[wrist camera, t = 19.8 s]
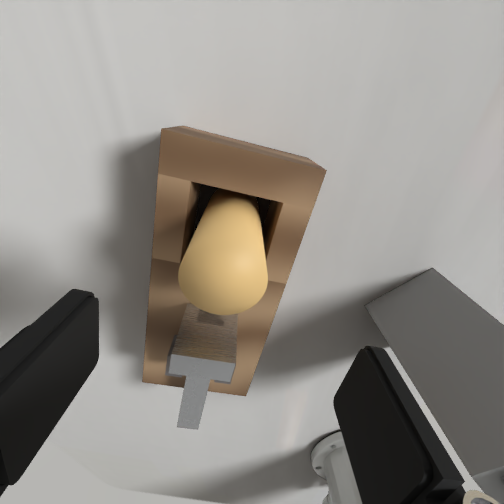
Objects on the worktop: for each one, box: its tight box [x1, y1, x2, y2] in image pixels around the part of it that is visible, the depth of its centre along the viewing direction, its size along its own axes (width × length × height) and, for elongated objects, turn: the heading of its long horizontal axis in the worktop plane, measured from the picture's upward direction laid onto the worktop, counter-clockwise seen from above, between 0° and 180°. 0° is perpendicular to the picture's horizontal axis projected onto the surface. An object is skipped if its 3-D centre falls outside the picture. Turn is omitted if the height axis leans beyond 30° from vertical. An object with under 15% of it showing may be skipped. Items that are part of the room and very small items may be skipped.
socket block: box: [142, 126, 327, 396], centre depth 20 cm, size 20×9×7 cm, turn 166°
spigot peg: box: [178, 188, 268, 315], centre depth 16 cm, size 4×4×10 cm
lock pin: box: [169, 304, 238, 430], centre depth 19 cm, size 12×4×4 cm, turn 166°
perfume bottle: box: [365, 268, 504, 504], centre depth 18 cm, size 7×7×18 cm
